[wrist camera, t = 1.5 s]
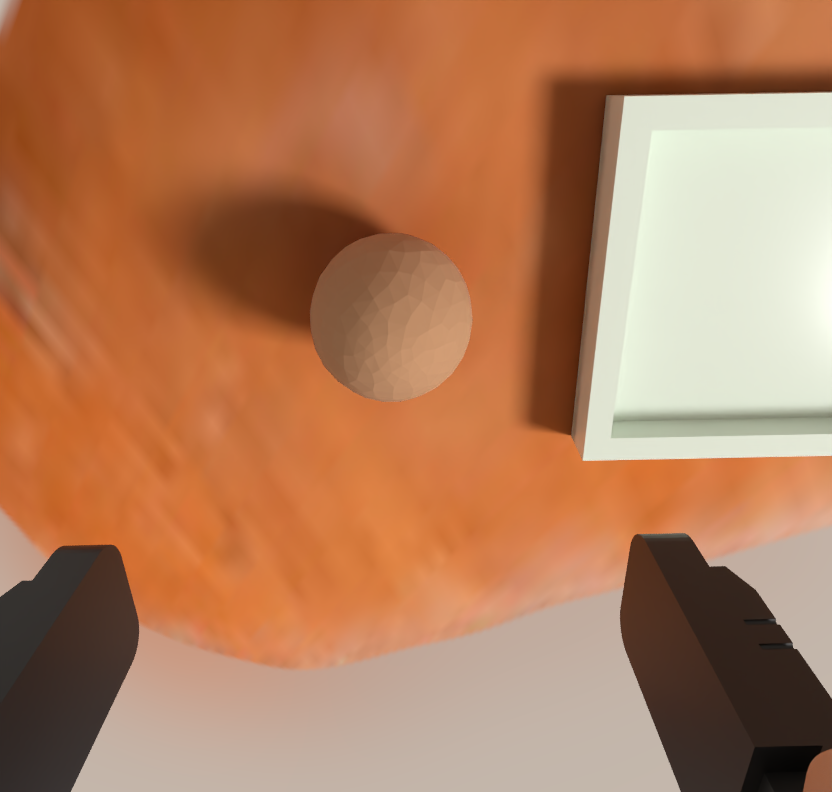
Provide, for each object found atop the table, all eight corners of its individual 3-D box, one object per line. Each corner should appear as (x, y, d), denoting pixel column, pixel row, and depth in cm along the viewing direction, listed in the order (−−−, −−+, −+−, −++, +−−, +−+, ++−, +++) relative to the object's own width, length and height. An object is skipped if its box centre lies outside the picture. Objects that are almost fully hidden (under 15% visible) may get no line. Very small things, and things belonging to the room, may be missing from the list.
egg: (292, 283, 24) (253, 352, 18) (398, 184, 23) (395, 222, 17) (389, 380, 26) (383, 473, 20) (492, 294, 25) (522, 366, 18)
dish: (606, 95, 22) (624, 96, 20) (994, 88, 22) (1048, 89, 20) (571, 435, 27) (582, 460, 26) (878, 429, 28) (911, 453, 26)
